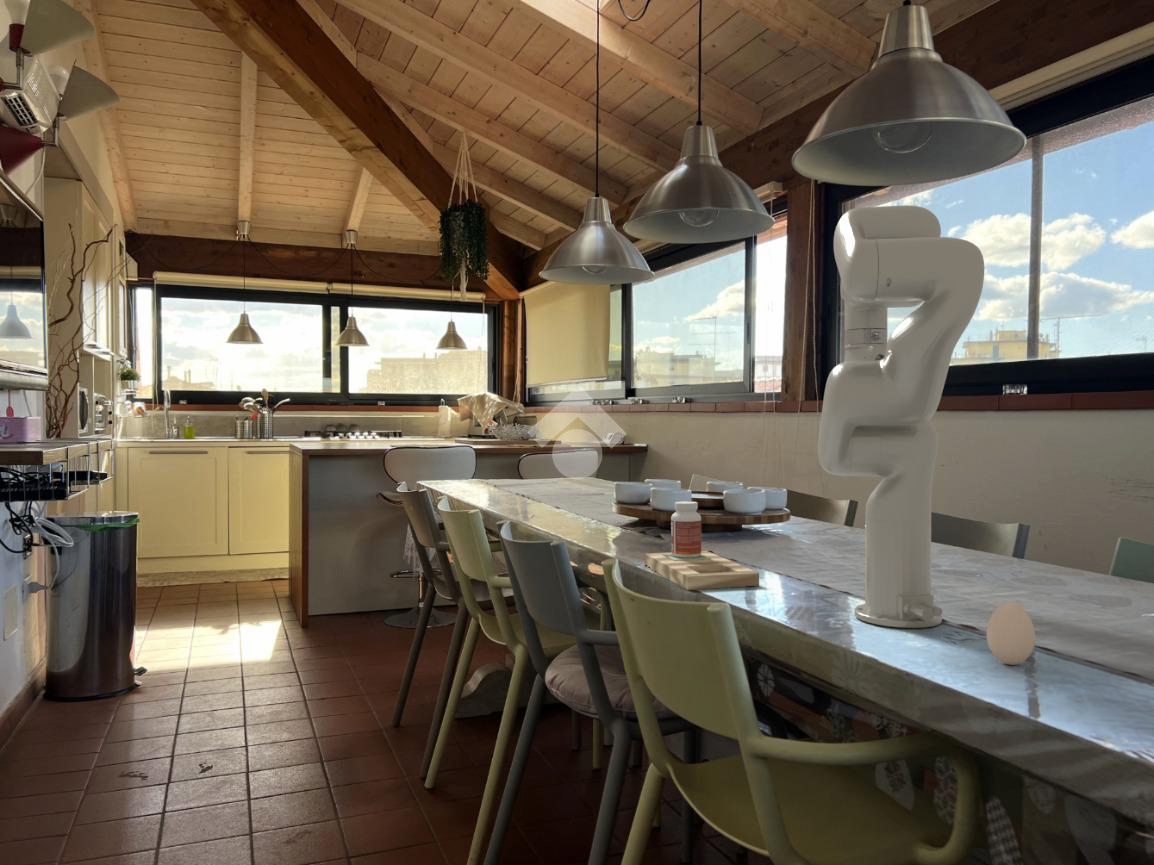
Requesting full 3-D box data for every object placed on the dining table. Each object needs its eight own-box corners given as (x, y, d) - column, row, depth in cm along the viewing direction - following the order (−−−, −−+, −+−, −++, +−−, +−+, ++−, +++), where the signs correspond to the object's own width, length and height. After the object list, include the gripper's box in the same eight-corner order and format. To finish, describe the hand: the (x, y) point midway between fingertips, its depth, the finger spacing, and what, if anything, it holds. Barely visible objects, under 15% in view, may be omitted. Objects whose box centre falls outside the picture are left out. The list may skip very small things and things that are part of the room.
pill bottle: (707, 556, 171) (707, 502, 171) (684, 559, 167) (684, 504, 167) (687, 552, 176) (687, 500, 176) (665, 555, 173) (665, 501, 172)
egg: (988, 668, 104) (988, 605, 104) (984, 656, 109) (984, 595, 109) (1038, 672, 102) (1038, 608, 102) (1031, 660, 107) (1031, 599, 107)
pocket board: (759, 586, 154) (759, 571, 154) (687, 590, 151) (687, 575, 151) (706, 562, 180) (706, 549, 179) (644, 565, 176) (644, 552, 176)
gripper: (912, 336, 147) (912, 433, 147) (858, 344, 164) (858, 431, 164) (874, 335, 145) (874, 433, 146) (823, 344, 162) (823, 432, 163)
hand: (865, 432), depth 155 cm, fingers open, 9 cm apart
